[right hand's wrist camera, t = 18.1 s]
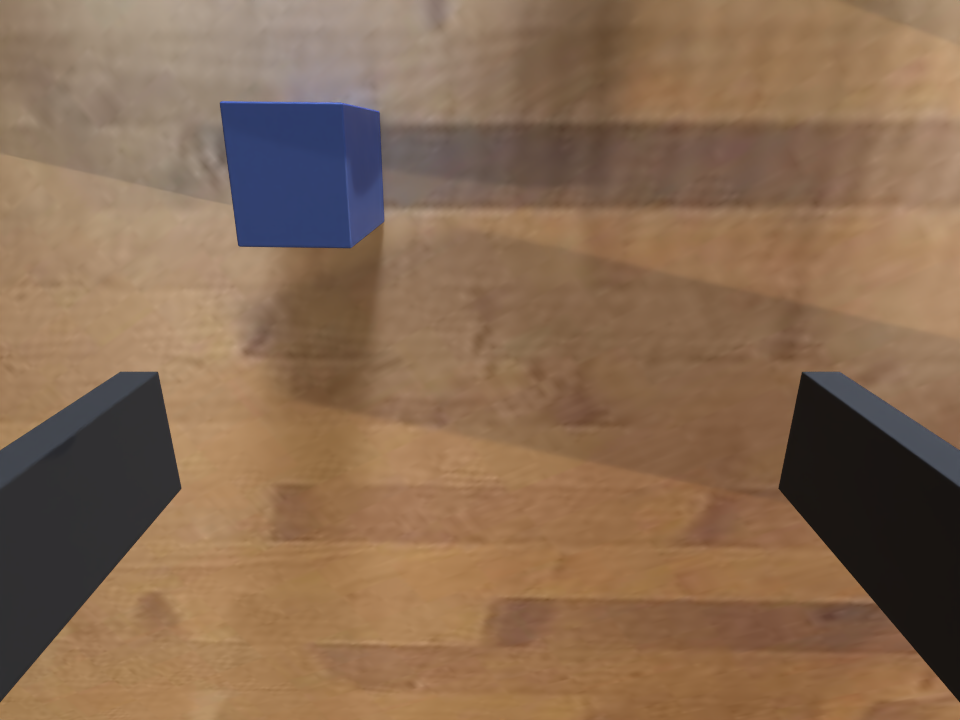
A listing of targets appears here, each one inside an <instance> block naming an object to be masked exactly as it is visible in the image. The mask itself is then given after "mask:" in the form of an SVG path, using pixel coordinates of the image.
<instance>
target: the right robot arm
mask: <svg viewBox="0 0 960 720" xmlns="http://www.w3.org/2000/svg"><path fill="white" fill-rule="evenodd" d="M180 490H181V484H180V479H179V474H178V469H177V464H176V459H175V454H174V449H173V444H172V439H171V434H170V429H169V424H168V419H167V414H166V409H165V404H164V399H163V394H162V389H161V384H160V379H159V375H158V372H119V373H118V374H116V375H115V376H113V377H112V378H110V379H109V380H107V381H106V382H104V383H103V384H101V385H100V386H98V387H96V388H95V389H93V390H92V391H90V392H89V393H87V394H86V395H84V396H83V397H81V398H80V399H78V400H77V401H75V402H74V403H72V404H71V405H69V406H67V407H66V408H64V409H63V410H61V411H60V412H58V413H57V414H55V415H54V416H52V417H51V418H49V419H48V420H46V421H45V422H43V423H41V424H40V425H38V426H37V427H35V428H34V429H32V430H31V431H29V432H28V433H26V434H25V435H23V436H22V437H20V438H19V439H17V440H15V441H14V442H12V443H11V444H9V445H8V446H6V447H5V448H3V449H2V450H0V702H1V701H2V700H3V698H4V697H5V696H6V695H7V694H8V692H9V691H10V690H11V689H12V688H13V687H14V685H15V684H16V683H17V682H18V681H19V679H20V678H21V677H22V676H23V675H24V674H25V672H26V671H27V670H28V669H29V668H30V667H31V665H32V664H33V663H34V662H35V661H36V659H37V658H38V657H39V656H40V655H41V654H42V652H43V651H44V650H45V649H46V648H47V646H48V645H49V644H50V643H51V642H52V641H53V639H54V638H55V637H56V636H57V635H58V633H59V632H60V631H61V630H62V629H63V628H64V626H65V625H66V624H67V623H68V622H69V621H70V619H71V618H72V617H73V616H74V615H75V613H76V612H77V611H78V610H79V609H80V608H81V606H82V605H83V604H84V603H85V602H86V600H87V599H88V598H89V597H90V596H91V595H92V593H93V592H94V591H95V590H96V589H97V588H98V586H99V585H100V584H101V583H102V582H103V580H104V579H105V578H106V577H107V576H108V575H109V573H110V572H111V571H112V570H113V569H114V567H115V566H116V565H117V564H118V563H119V562H120V560H121V559H122V558H123V557H124V556H125V555H126V553H127V552H128V551H129V550H130V549H131V547H132V546H133V545H134V544H135V543H136V542H137V540H138V539H139V538H140V537H141V536H142V534H143V533H144V532H145V531H146V530H147V529H148V527H149V526H150V525H151V524H152V523H153V522H154V520H155V519H156V518H157V517H158V516H159V514H160V513H161V512H162V511H163V510H164V509H165V507H166V506H167V505H168V504H169V503H170V501H171V500H172V499H173V498H174V497H175V496H176V494H177V493H178V492H179V491H180ZM779 490H780V491H781V492H782V493H783V494H784V496H785V497H786V498H787V499H788V500H789V501H790V503H791V504H792V505H793V506H794V507H795V509H796V510H797V511H798V512H799V513H800V514H801V516H802V517H803V518H804V519H805V520H806V522H807V523H808V524H809V525H810V526H811V527H812V529H813V530H814V531H815V532H816V533H817V534H818V536H819V537H820V538H821V539H822V540H823V542H824V543H825V544H826V545H827V546H828V547H829V549H830V550H831V551H832V552H833V553H834V555H835V556H836V557H837V558H838V559H839V560H840V562H841V563H842V564H843V565H844V566H845V567H846V569H847V570H848V571H849V572H850V573H851V575H852V576H853V577H854V578H855V579H856V580H857V582H858V583H859V584H860V585H861V586H862V588H863V589H864V590H865V591H866V592H867V593H868V595H869V596H870V597H871V598H872V599H873V600H874V602H875V603H876V604H877V605H878V606H879V608H880V609H881V610H882V611H883V612H884V613H885V615H886V616H887V617H888V618H889V619H890V621H891V622H892V623H893V624H894V625H895V626H896V628H897V629H898V630H899V631H900V632H901V633H902V635H903V636H904V637H905V638H906V639H907V641H908V642H909V643H910V644H911V645H912V646H913V648H914V649H915V650H916V651H917V652H918V654H919V655H920V656H921V657H922V658H923V659H924V661H925V662H926V663H927V664H928V665H929V667H930V668H931V669H932V670H933V671H934V672H935V674H936V675H937V676H938V677H939V678H940V679H941V681H942V682H943V683H944V684H945V685H946V687H947V688H948V689H949V690H950V691H951V692H952V694H953V695H954V696H955V697H956V698H957V700H958V701H959V702H960V450H958V449H957V448H955V447H954V446H952V445H951V444H949V443H948V442H946V441H945V440H943V439H941V438H940V437H938V436H937V435H935V434H934V433H932V432H931V431H929V430H928V429H926V428H925V427H923V426H922V425H920V424H919V423H917V422H915V421H914V420H912V419H911V418H909V417H908V416H906V415H905V414H903V413H902V412H900V411H899V410H897V409H896V408H894V407H893V406H891V405H889V404H888V403H886V402H885V401H883V400H882V399H880V398H879V397H877V396H876V395H874V394H873V393H871V392H870V391H868V390H867V389H865V388H864V387H862V386H860V385H859V384H857V383H856V382H854V381H853V380H851V379H850V378H848V377H847V376H845V375H844V374H842V373H841V372H802V375H801V379H800V384H799V389H798V394H797V399H796V404H795V409H794V414H793V419H792V424H791V429H790V434H789V439H788V444H787V449H786V454H785V459H784V464H783V469H782V474H781V479H780V484H779Z"/></svg>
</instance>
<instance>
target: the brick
mask: <svg viewBox="0 0 960 720" xmlns="http://www.w3.org/2000/svg"><path fill="white" fill-rule="evenodd" d="M220 108H221V116H222V124H223V132H224V139H225V147H226V155H227V163H228V170H229V178H230V186H231V194H232V201H233V209H234V217H235V224H236V232H237V240H238V246H240V247H302V248H352V247H353V246H354V245H355V244H357V243H358V242H359V241H360V240H362V239H363V238H364V237H365V236H367V235H368V234H369V233H370V232H372V231H373V230H374V229H375V228H377V227H378V226H379V225H380V224H382V223H383V222H384V204H383V182H382V159H381V136H380V113H379V111H375V110H371V109H367V108H362V107H358V106H353V105H349V104H344V103H318V102H229V101H222V102H220Z"/></svg>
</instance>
